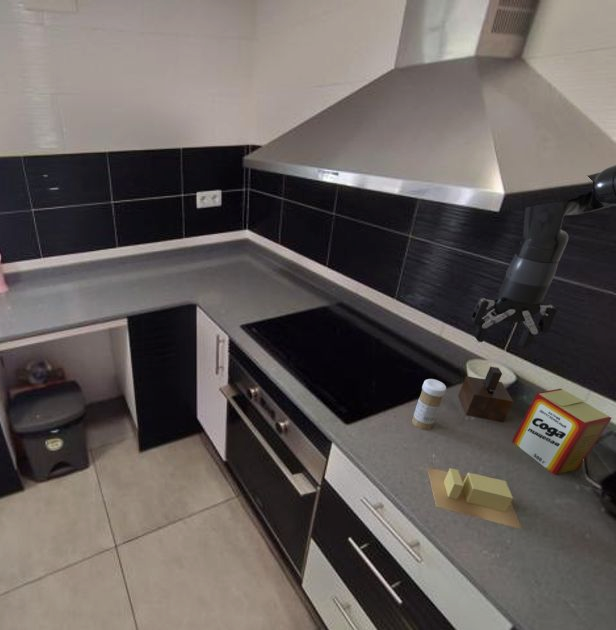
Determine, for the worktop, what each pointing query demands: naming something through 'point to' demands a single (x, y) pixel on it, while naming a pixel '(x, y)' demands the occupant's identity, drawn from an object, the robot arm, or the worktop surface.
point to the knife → (492, 379)
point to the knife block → (484, 400)
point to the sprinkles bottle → (428, 403)
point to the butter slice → (453, 483)
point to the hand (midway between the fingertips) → (500, 343)
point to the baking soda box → (560, 430)
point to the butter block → (487, 492)
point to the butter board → (465, 507)
